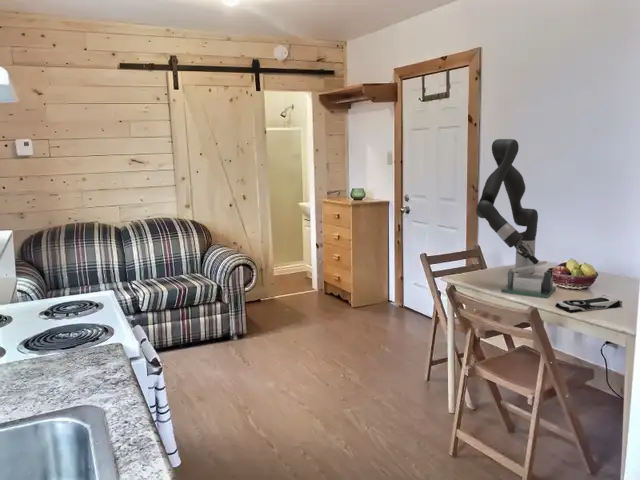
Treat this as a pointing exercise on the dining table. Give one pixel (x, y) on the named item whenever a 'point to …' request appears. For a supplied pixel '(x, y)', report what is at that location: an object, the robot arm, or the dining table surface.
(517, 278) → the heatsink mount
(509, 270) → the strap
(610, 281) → the dining table surface
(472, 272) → the dining table surface
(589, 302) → the graphics card
